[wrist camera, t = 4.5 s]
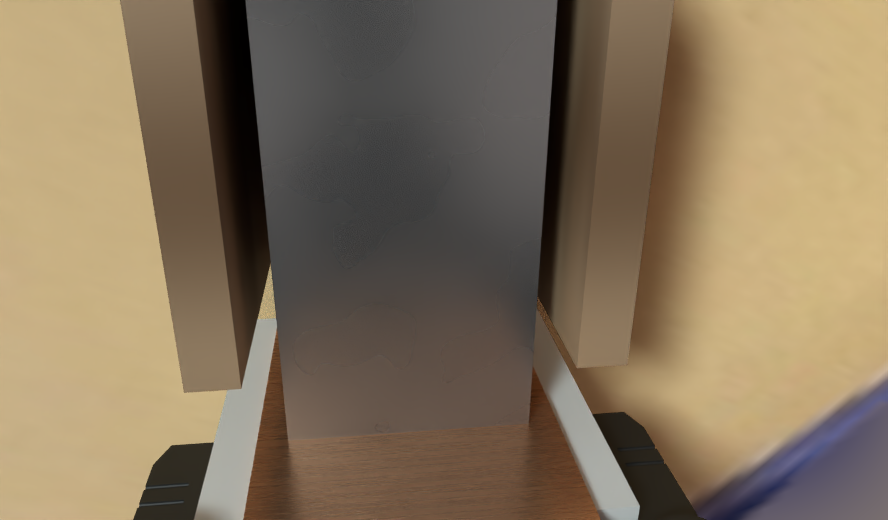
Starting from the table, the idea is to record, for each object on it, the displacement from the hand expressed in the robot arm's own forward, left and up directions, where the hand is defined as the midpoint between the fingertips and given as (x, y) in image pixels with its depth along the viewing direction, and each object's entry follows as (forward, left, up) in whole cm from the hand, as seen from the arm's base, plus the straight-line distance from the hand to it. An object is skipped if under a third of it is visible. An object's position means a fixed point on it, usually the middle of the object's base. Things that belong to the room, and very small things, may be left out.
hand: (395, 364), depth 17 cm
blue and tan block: (-2, -2, +1) cm, 3 cm away
